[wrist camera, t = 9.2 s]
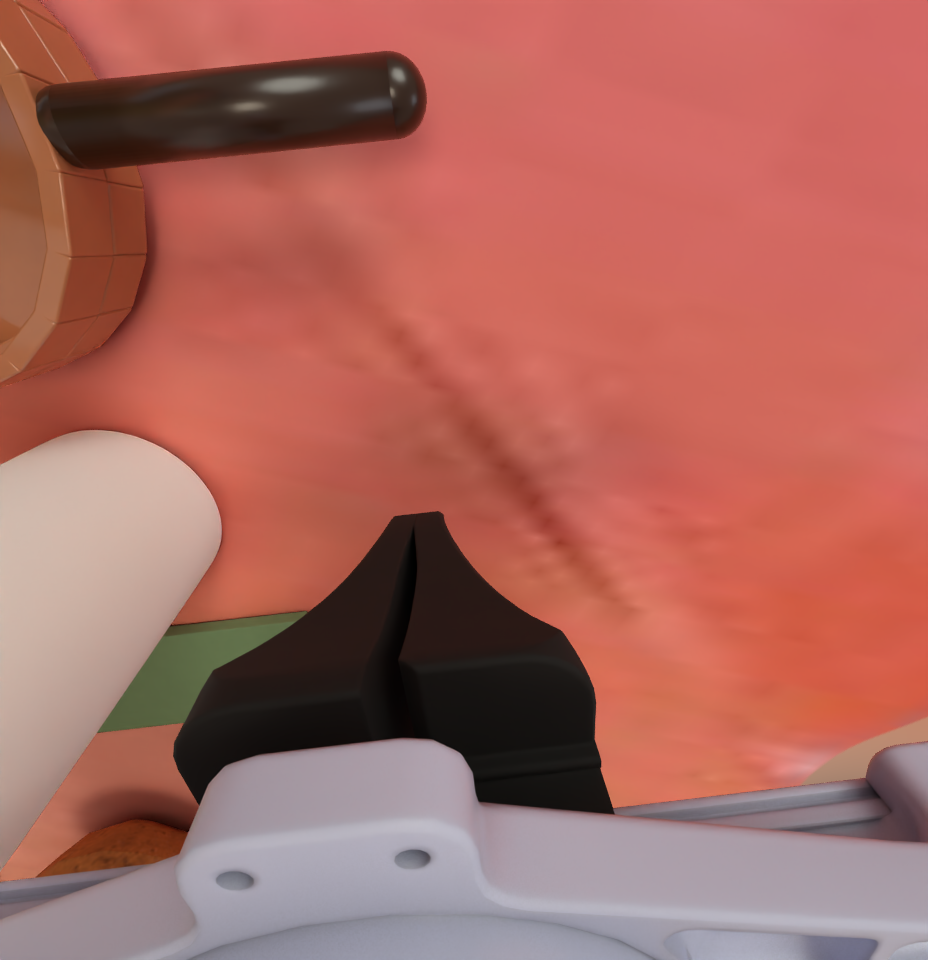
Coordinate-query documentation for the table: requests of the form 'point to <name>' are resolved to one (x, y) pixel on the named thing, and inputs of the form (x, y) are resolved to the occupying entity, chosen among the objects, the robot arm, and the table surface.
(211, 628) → the flat green tile
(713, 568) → the table surface
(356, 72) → the pan handle
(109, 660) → the can
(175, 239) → the table surface
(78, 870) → the potato
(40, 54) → the pan
